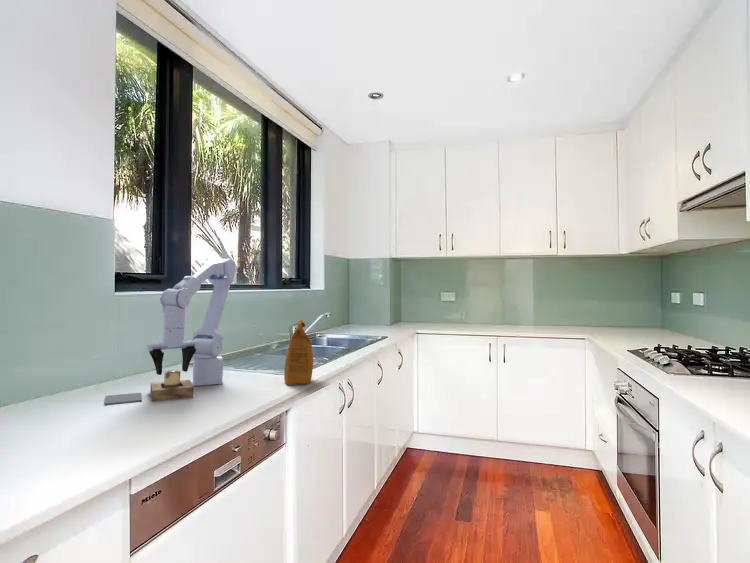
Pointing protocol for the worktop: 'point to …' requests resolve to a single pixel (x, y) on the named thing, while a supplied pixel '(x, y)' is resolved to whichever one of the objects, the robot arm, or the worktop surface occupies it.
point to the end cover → (171, 378)
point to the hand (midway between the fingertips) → (172, 372)
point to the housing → (171, 391)
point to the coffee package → (299, 358)
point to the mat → (123, 398)
